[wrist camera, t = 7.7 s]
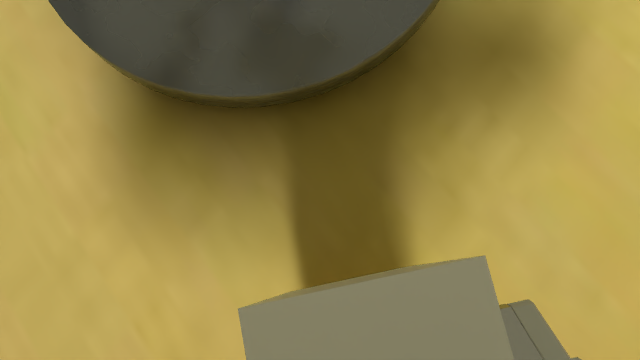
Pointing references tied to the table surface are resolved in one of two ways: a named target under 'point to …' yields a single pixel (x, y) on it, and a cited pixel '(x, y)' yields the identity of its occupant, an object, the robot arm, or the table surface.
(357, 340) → the off-white block
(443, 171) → the table surface
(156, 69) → the turntable
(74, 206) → the table surface
